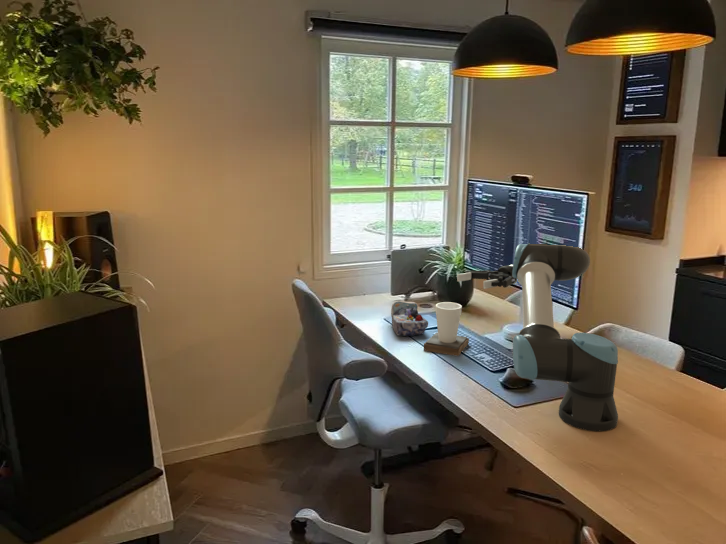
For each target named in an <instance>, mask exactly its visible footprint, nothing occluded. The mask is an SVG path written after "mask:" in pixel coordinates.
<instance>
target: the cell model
mask: <svg viewBox="0 0 726 544" xmlns="http://www.w3.org/2000/svg"><path fill="white" fill-rule="evenodd" d="M390 316H391V323H392V327H393V331H394V333H395V334H396V335H397V336H399V337H400V336H403V337H413V336H420V335H423V334H424V333H425V331H426V329H427V328H428V326H429V321H428V319H426V318H424V317H423V316H422V315H421V314H420V313H419V311H418V304H417V302H414V301H403V300H402V301H401V300H396V301H394V302H393V303H392V305H391V310H390Z"/></svg>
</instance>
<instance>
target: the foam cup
mask: <svg viewBox="0 0 726 544" xmlns="http://www.w3.org/2000/svg"><path fill="white" fill-rule="evenodd" d="M462 309H463V305H461V304H460V303H457V302H451V301H443V302H438V303H436V304H435V309H434V310H435V311H434V312H435V314H436V315H435V316H436V324H437V333H438V338H439V341H441V342H445V343H452V342H455V341H456V338H457V336H458V331H459V325H460V320H461V314H462Z"/></svg>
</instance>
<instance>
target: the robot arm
mask: <svg viewBox="0 0 726 544" xmlns="http://www.w3.org/2000/svg"><path fill="white" fill-rule="evenodd" d="M579 247H580V246H579ZM579 247H573V246H566V245H547V244H530V243H528V244H518V245H517V246H516V248H515V253H514V259H513V264H510V265H509V264H508V265H503V266H500V267H499V268H498V269H497V270H494V271H493V270H492V271H491V269H488V270H487V269H486V270H466V272H465V273H457V274H456V275H457V278H456V279H457V280H456V282H465V281H469V282H470V281H471V280H483V282H482V283H483V286H482V289H484V290H486V289H487V290H488V289H492V288H498V287H499V288H501V287H502V288H508V287H509V286H510V285H514V284H515V283H516V282H517V279H518V282H519V283H518V284H520V286H522V287H521V289H522V290H521V291H522V293H521V294H522V329H521V330H520V331H519V332H518V334H517V335H514V336H513V338H512V361H513V362H512V363H513V369H514V371H515V373H516V375H517V376H518V377H519V378H521V379H529V380H532V381H534V380H537V381H538V380H539V381H549V382H559V383H560V382H562V383H568V384H567V389H566V391H565V393H564V396H563V398H562V399H561V401H560V404H559V407H558V416H559V418H560V419H561V420H562V421H563V422H564V423H566V424H568V425H570V426H571V427H574V428H577V429H580V430H585V431H589V432H590V431H592V432H607V431H610V430H613V429H615V428H616V427H617V425H618V423H619V422H618V420H619V414H618V409H617V405H616V402H615V401H616V400H615V397H614V391H615V385H616V384H615V382H616V378H617V377H616V375H617V366H618V363H619V359H618V357H619V356H618V353H619V348H618V346H617V345H616V344H615V343H614V342H613V341H612V340H610V339H609V338H606V337H605V336H601V335H598V334H595V333H589V332H575V333H574V334H573V335H572V336H571V338H561V335H560V332H559V331H558V330H557V329H556V328H555V323H554V311H553V299H552V287H551V285H552V284H554V282H555V281H556V282H557V281H560V282H562V281H570V280H574V279H576V278H579V277H581V276H582V275H584V274H586V272H587V271H588V269H589V267H590V265H591V258H590V255H589V253H588V252H587V250H585V249H584V248H582V247H581V248H582V249H581V248H579ZM583 249H584V250H585V251H584V250H583ZM581 274H582V275H581ZM516 284H517V283H516Z"/></svg>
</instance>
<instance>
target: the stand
mask: <svg viewBox="0 0 726 544" xmlns="http://www.w3.org/2000/svg"><path fill="white" fill-rule="evenodd" d="M469 342H470V338H468V337H467V336H461V335H457V338H456V341H455V342H452V343H445V342H441V341H439V338H438V331H437V332H435V333H434V334H433V335H432V336H431V337H430V338H429V339H427V340H426V342H425V343H423V351H426V352H431V353H432V352H433V353H437V354H444V355H449V356H456V357H459V356H460V355H461V354H462V353H463V352H464V351H465V349H466V348H467V347H468V346H469V345H468V343H469ZM469 344H470V343H469ZM467 345H468V346H467ZM466 346H467V347H466ZM465 347H466V348H465ZM464 348H465V349H464ZM462 351H463V352H462ZM461 352H462V353H461Z"/></svg>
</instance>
